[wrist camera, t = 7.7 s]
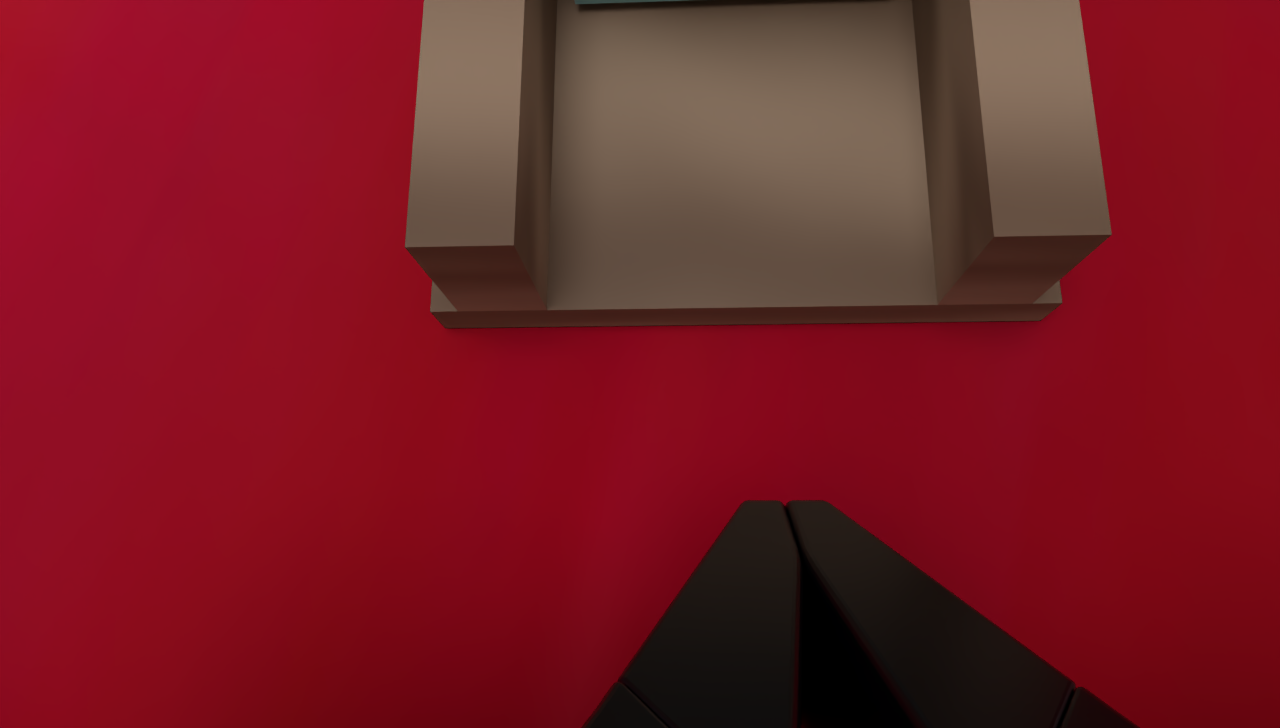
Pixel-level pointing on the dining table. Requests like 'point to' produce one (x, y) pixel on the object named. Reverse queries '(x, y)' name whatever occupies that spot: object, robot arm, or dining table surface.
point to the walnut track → (752, 161)
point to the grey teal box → (616, 1)
